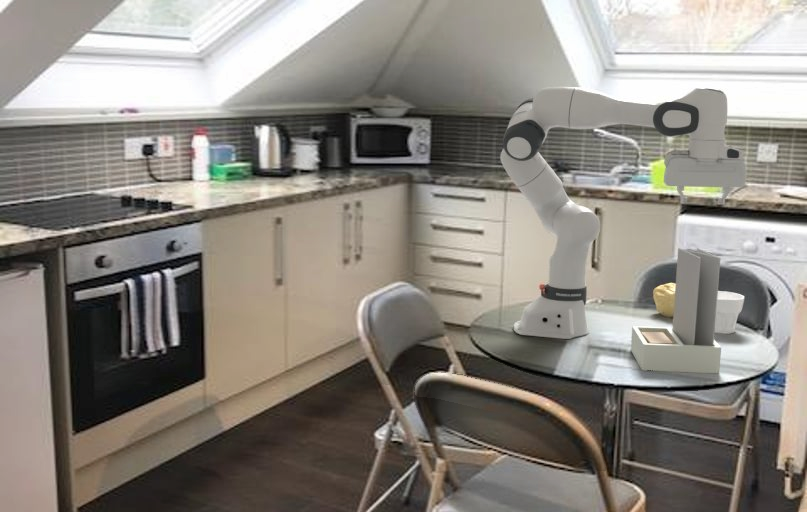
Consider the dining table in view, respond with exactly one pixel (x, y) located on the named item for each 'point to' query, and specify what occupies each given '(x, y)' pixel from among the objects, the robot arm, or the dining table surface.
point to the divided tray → (673, 353)
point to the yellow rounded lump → (665, 299)
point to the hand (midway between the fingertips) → (702, 204)
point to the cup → (727, 311)
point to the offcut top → (656, 338)
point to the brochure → (696, 297)
